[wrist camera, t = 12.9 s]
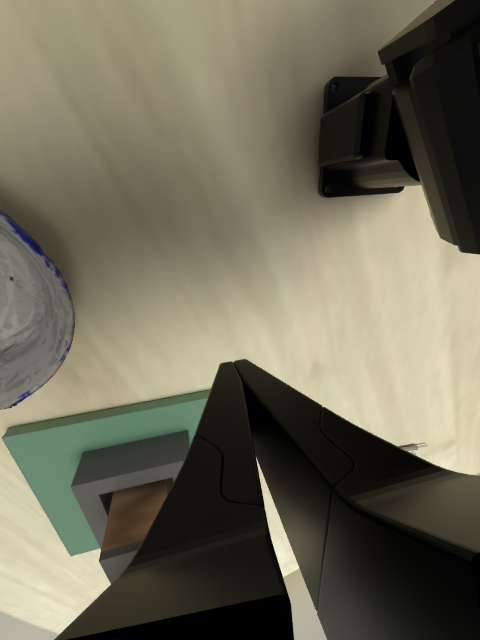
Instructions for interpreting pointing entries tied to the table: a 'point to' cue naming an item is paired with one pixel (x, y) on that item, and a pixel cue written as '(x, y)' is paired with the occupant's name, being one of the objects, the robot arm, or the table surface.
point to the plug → (130, 523)
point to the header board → (102, 460)
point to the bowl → (30, 315)
